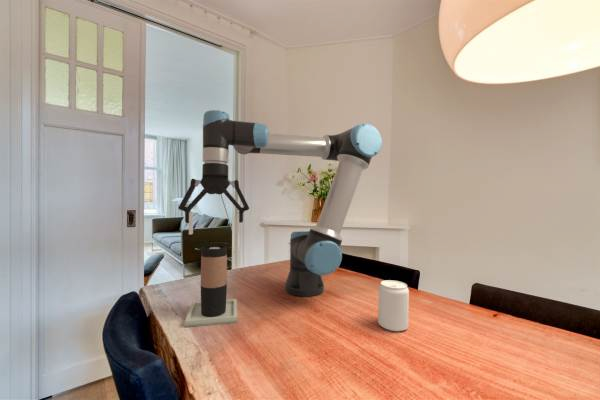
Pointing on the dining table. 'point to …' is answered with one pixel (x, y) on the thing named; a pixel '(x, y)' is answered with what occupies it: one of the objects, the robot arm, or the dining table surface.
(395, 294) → the beverage can
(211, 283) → the travel mug
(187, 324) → the tray
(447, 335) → the dining table surface
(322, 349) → the dining table surface
